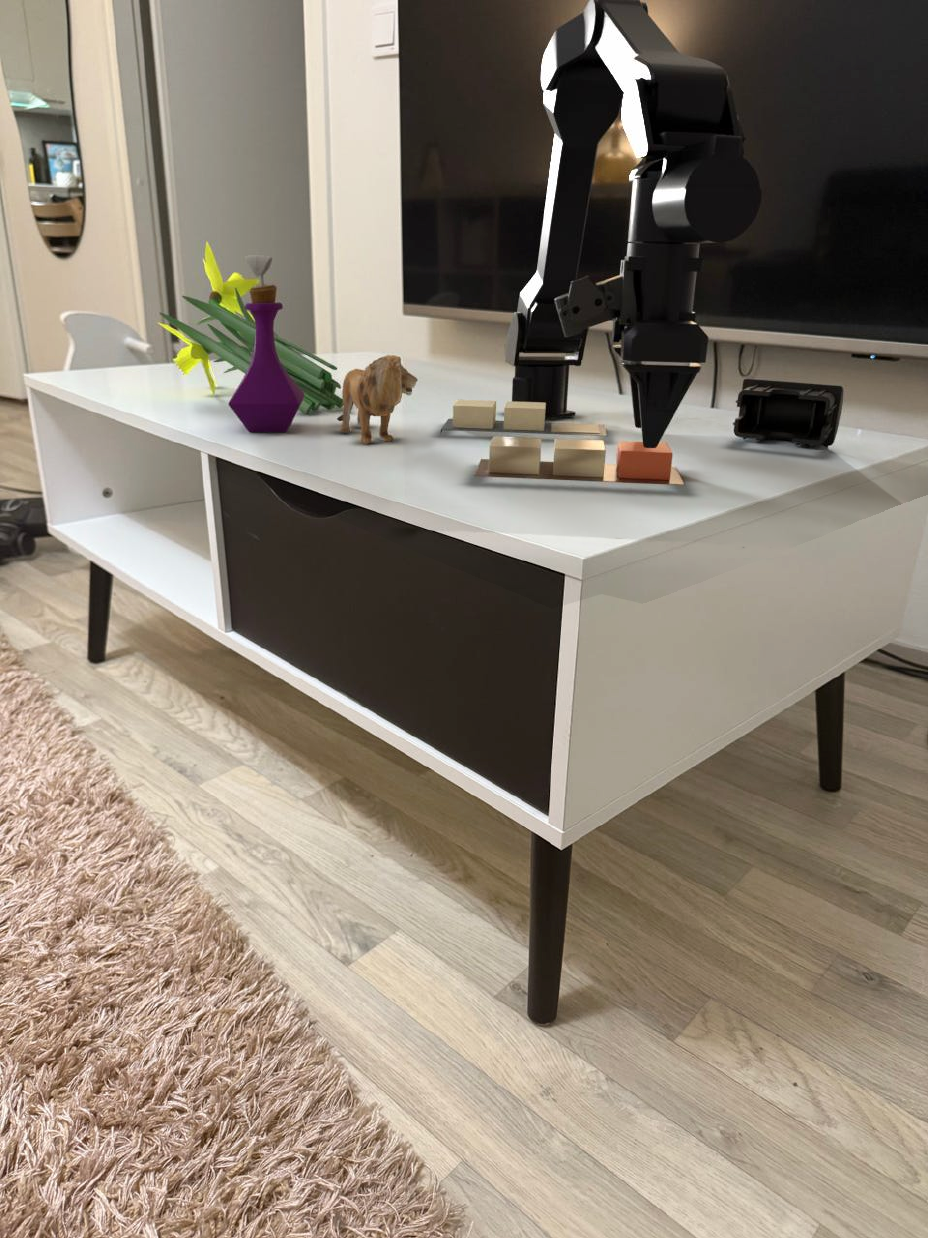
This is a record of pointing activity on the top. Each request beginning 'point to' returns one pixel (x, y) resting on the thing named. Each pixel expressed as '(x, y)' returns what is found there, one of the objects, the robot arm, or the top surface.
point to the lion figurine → (375, 394)
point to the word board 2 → (556, 462)
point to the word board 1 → (513, 419)
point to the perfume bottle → (265, 366)
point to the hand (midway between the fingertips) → (645, 437)
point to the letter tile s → (643, 461)
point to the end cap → (789, 411)
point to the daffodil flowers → (247, 341)
